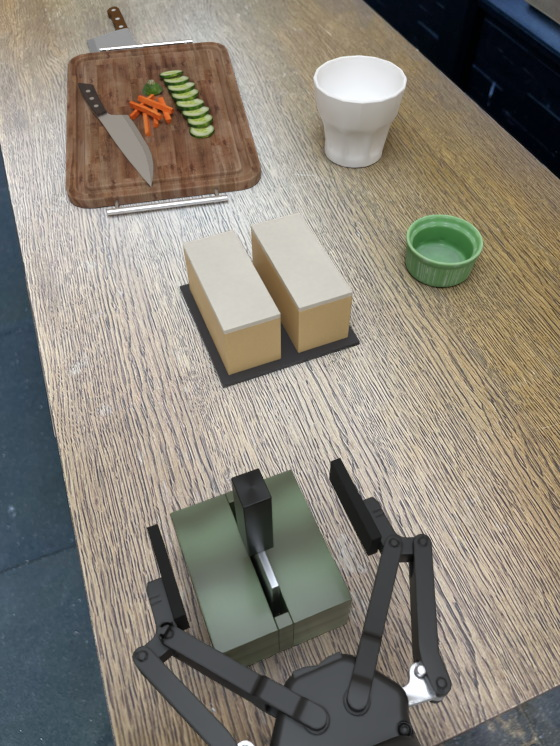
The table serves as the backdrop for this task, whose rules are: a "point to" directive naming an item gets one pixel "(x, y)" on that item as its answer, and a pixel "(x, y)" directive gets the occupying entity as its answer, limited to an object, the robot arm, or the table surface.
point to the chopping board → (156, 127)
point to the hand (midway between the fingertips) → (247, 499)
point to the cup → (357, 106)
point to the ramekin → (442, 249)
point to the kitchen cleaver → (113, 33)
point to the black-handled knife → (257, 529)
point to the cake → (266, 299)
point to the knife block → (241, 584)
